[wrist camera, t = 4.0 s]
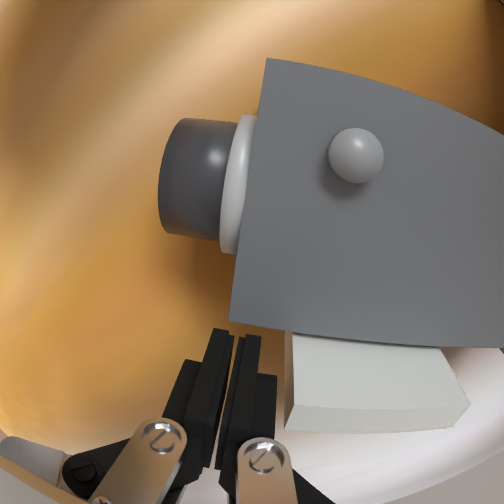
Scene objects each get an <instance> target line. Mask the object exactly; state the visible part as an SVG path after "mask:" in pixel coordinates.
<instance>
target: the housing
mask: <svg viewBox="0 0 504 504" xmlns="http://www.w3.org/2000/svg"><path fill="white" fill-rule="evenodd" d="M158 209H159V216H160V220H161V224H162V226H163V228H164V230H165V231H166V232H167V233H171V234H177V235H183V236H189V237H195V238H201V239H206V240H212V241H218V242H220V249H221V252H222V253H227V254H233V255H237V257H236V264H235V272H234V279H233V286H232V294H231V301H230V309H229V316H228V321H230V322H236V323H241V324H247V325H253V326H259V327H265V328H271V329H277V330H284V331H291V332H298V333H305V334H312V335H320V336H327V337H336V338H344V339H353V340H363V341H373V342H384V343H395V344H409V345H424V346H442V347H469V348H500V349H501V351H502V352H503V353H504V135H502V134H500V133H498V132H497V131H495V130H493V129H491V128H489V127H487V126H486V125H484V124H482V123H480V122H478V121H476V120H474V119H472V118H470V117H468V116H466V115H463V114H461V113H459V112H457V111H455V110H453V109H450V108H448V107H446V106H443V105H441V104H439V103H436V102H434V101H431V100H429V99H426V98H424V97H421V96H418V95H416V94H413V93H410V92H408V91H405V90H402V89H399V88H396V87H393V86H390V85H387V84H384V83H381V82H377V81H374V80H371V79H367V78H364V77H360V76H356V75H352V74H349V73H345V72H341V71H336V70H332V69H328V68H323V67H318V66H313V65H308V64H303V63H297V62H291V61H285V60H279V59H272V58H267V59H266V65H265V71H264V78H263V84H262V90H261V96H260V102H259V109H258V115H257V116H256V115H249V114H243V115H242V117H241V119H240V121H239V123H233V122H224V121H215V120H205V119H193V118H184V119H182V120H180V121H179V122H178V123H177V125H176V126H175V128H174V129H173V131H172V133H171V135H170V137H169V139H168V142H167V145H166V148H165V151H164V154H163V158H162V163H161V168H160V174H159V183H158Z"/></svg>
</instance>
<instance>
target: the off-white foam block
mask: <svg viewBox="0 0 504 504" xmlns="http://www.w3.org/2000/svg"><path fill="white" fill-rule="evenodd" d="M469 405H470V402H469V400H468V398H467V396H466V394H465V392H464V390H463V389H462V387H461V385H460V383H459V381H458V379H457V378H456V376H455V374H454V372H453V371H452V369H451V367H450V365H449V364H448V362H447V360H446V358H445V357H444V355H443V353H442V352H441V350H440V348H439V347H438V346H424V345H409V344H395V343H384V342H373V341H363V340H353V339H344V338H336V337H327V336H320V335H312V334H305V333H298V332H291V331H285V403H284V430H293V431H306V432H322V433H396V432H411V431H423V430H432V429H441V428H448V427H453V425H454V424H455V423H456V422H457V421H458V419H459V418H460V417H461V416H462V414H463V413H464V412H465V411H466V409H467V408H468V407H469Z"/></svg>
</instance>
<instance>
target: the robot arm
mask: <svg viewBox="0 0 504 504" xmlns="http://www.w3.org/2000/svg"><path fill="white" fill-rule="evenodd" d="M233 343H234V336H232V335H229V331H228V330H222V329H217V328H214V329H213V331H212V334H211V337H210V340H209V343H208V346H207V349H206V352H205V355H204V358H203V361H202V362H197V361H192V360H188V359H185V361H184V363H183V365H182V368H181V370H180V372H179V375H178V377H177V380H176V382H175V385H174V387H173V390H172V392H171V395H170V397H169V400H168V402H167V405H166V407H165V410H164V413H163V415H162V418H157V417H156V418H152V419H148V420H146V421H144V422H143V423H142V424H141V425H140V426H139V427H138V428H137V430H136V431H135V433H134V434H133V436H132V437H131V438H129V439H126V440H123V441H120V442H116V443H113V444H110V445H107V446H103V447H100V448H97V449H93V450H90V451H86V452H82V453H78V454H75V455H73V456H72V455H68V454H65V452H64V451H61V450H57V449H53V448H50V447H46V446H43V445H40V444H37V443H34V442H30V441H28V440H25V439H22V438H19V437H14V436H10V437H6V438H5V439H3V440H2V441H1V443H0V504H179V502H180V500H181V498H182V496H183V494H184V492H185V490H186V488H187V485H188V484H189V483H191V482H193V481H195V480H197V479H199V475H200V474H202V470H203V467H206V468H209V467H210V463H211V458H212V454H213V449H214V444H215V440H216V435H217V431H218V426H219V422H220V417H221V413H222V408H223V403H224V399H225V394H226V389H227V383H228V376H229V370H230V363H231V356H232V350H233ZM260 345H261V336H256V335H250V334H246V338H243V337H239V341H238V346H237V350H236V355H235V360H234V365H233V369H232V374H231V379H230V383H229V388H228V393H227V398H226V402H225V407H224V412H223V416H222V422H221V427H220V434H219V440H218V447H217V454H216V461H215V468H214V469H216V470H221V472H220V477H219V484H220V485H221V486H222V488H223V489H224V490H225V491H226V492H227V504H335V503H334V502H332V501H331V500H330V499H329V498H327V497H326V496H325V495H323V494H322V493H321V492H320V491H319V490H317V489H316V488H315V487H314V486H312V485H311V484H310V483H309V482H308V481H306V480H305V479H304V478H303V477H302V476H301V475H299V474H298V473H297V472H296V471H295V470H294V469H293V468H292V466H291V460H290V455H289V453H288V450H287V449H286V448H285V447H284V446H283V445H282V444H281V443H279V442H278V441H276V440H274V435H275V416H276V395H277V376H275V375H268V374H261V373H257V372H258V363H259V355H260Z"/></svg>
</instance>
